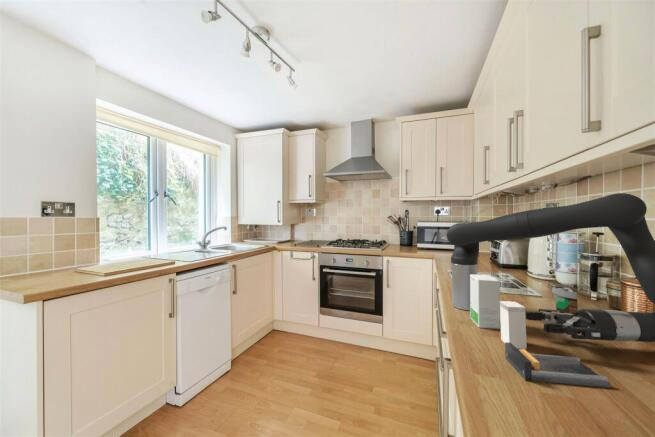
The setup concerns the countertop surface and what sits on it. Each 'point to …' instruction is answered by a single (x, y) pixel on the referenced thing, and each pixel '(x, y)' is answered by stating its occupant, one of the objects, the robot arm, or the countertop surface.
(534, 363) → the orange rectangular bar
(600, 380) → the dark grey open tray
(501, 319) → the block
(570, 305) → the food container
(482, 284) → the skincare box
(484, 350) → the countertop surface
